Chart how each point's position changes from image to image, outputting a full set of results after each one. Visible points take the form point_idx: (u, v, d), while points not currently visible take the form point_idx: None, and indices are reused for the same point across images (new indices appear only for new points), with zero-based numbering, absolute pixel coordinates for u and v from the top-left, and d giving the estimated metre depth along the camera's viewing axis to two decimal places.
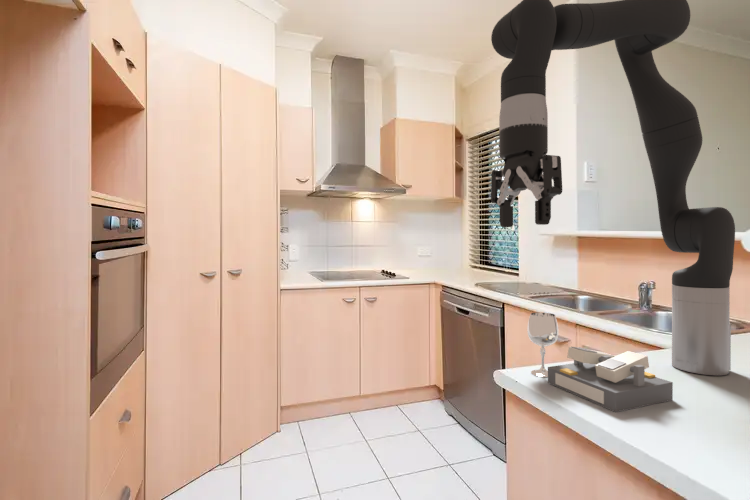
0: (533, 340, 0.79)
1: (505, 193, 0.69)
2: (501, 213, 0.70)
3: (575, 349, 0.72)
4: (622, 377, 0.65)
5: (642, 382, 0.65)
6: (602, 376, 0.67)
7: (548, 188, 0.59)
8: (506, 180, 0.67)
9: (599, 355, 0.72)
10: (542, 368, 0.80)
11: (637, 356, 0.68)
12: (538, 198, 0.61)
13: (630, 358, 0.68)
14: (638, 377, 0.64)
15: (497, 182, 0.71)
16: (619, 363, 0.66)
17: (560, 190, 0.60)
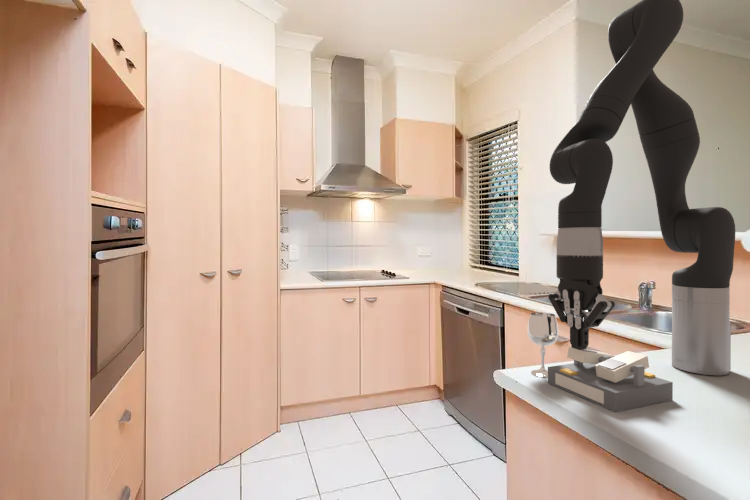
0: (533, 340, 0.79)
1: (572, 313, 0.72)
2: (572, 335, 0.72)
3: (575, 349, 0.72)
4: (622, 377, 0.65)
5: (642, 382, 0.65)
6: (602, 376, 0.67)
7: (587, 323, 0.69)
8: (566, 300, 0.73)
9: (599, 355, 0.72)
10: (542, 368, 0.80)
11: (637, 356, 0.68)
12: (576, 327, 0.71)
13: (630, 358, 0.68)
14: (638, 377, 0.64)
15: (558, 302, 0.76)
16: (619, 363, 0.66)
17: None
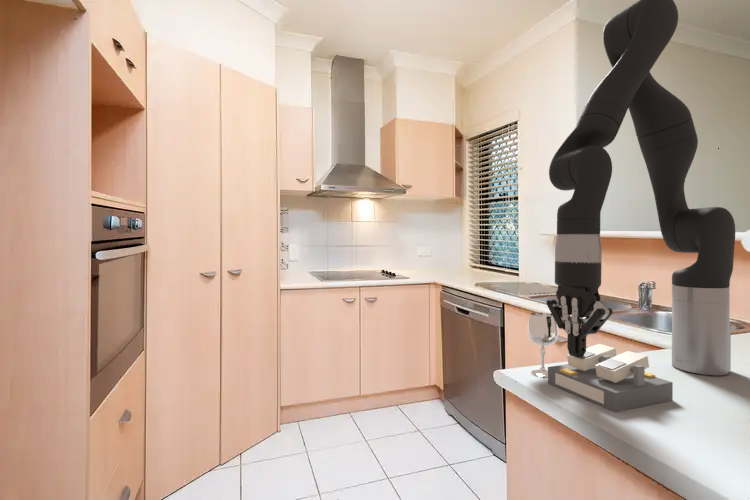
0: (533, 340, 0.79)
1: (570, 319, 0.72)
2: (570, 342, 0.72)
3: (574, 357, 0.72)
4: (622, 377, 0.65)
5: (642, 382, 0.65)
6: (602, 376, 0.67)
7: (585, 330, 0.69)
8: (564, 307, 0.72)
9: (598, 356, 0.71)
10: (542, 368, 0.80)
11: (637, 356, 0.68)
12: (574, 334, 0.71)
13: (630, 358, 0.68)
14: (638, 377, 0.64)
15: (556, 309, 0.75)
16: (619, 363, 0.66)
17: (594, 333, 0.69)
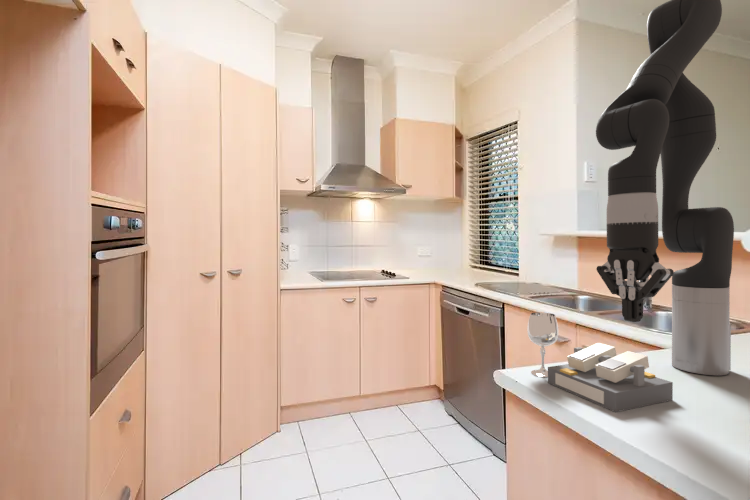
0: (533, 340, 0.79)
1: (625, 284, 0.69)
2: (625, 307, 0.69)
3: (574, 359, 0.72)
4: (622, 377, 0.65)
5: (642, 382, 0.65)
6: (602, 376, 0.67)
7: (643, 293, 0.66)
8: (618, 271, 0.69)
9: (598, 356, 0.71)
10: (542, 368, 0.80)
11: (637, 356, 0.68)
12: (630, 298, 0.68)
13: (630, 358, 0.68)
14: (638, 377, 0.64)
15: (608, 274, 0.72)
16: (619, 363, 0.66)
17: (652, 296, 0.66)
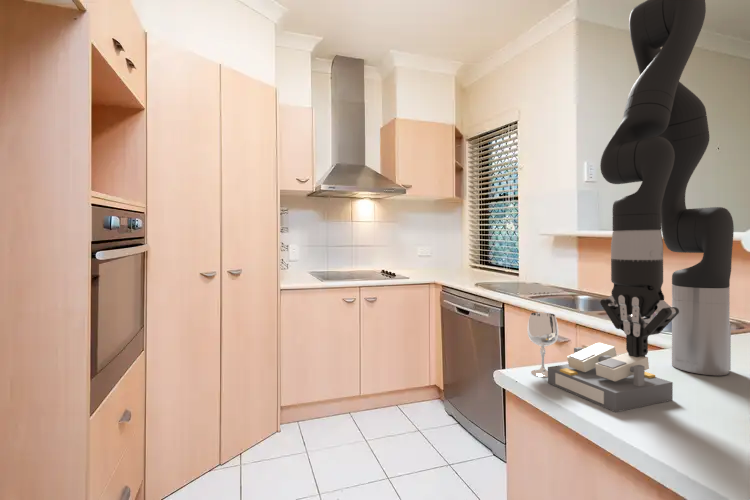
0: (533, 340, 0.79)
1: (629, 319, 0.69)
2: (630, 343, 0.69)
3: (574, 359, 0.72)
4: (622, 376, 0.65)
5: (642, 382, 0.65)
6: (602, 375, 0.67)
7: (648, 330, 0.66)
8: (623, 306, 0.69)
9: (598, 356, 0.71)
10: (542, 368, 0.80)
11: (638, 357, 0.68)
12: (635, 335, 0.68)
13: (631, 358, 0.68)
14: (638, 377, 0.64)
15: (612, 308, 0.72)
16: (619, 362, 0.66)
17: (657, 333, 0.66)
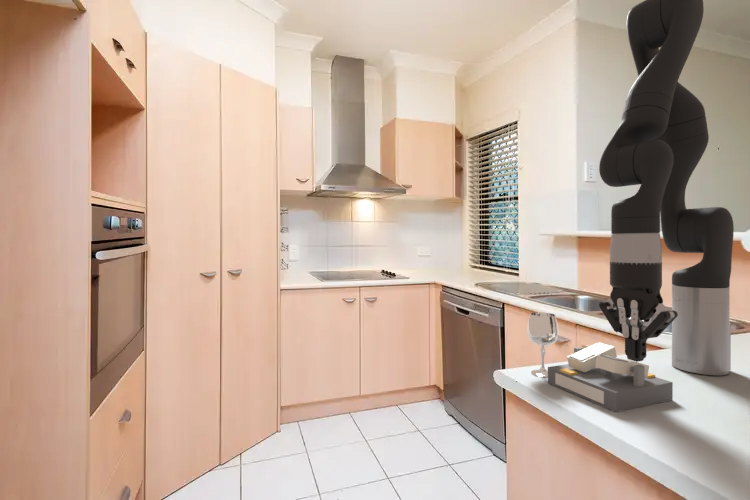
0: (533, 340, 0.79)
1: (628, 322, 0.69)
2: (628, 346, 0.69)
3: (574, 359, 0.72)
4: (621, 371, 0.65)
5: (642, 382, 0.65)
6: (601, 366, 0.67)
7: (647, 334, 0.65)
8: (622, 309, 0.69)
9: None
10: (542, 368, 0.80)
11: (639, 363, 0.68)
12: (633, 338, 0.68)
13: (632, 362, 0.68)
14: (638, 377, 0.64)
15: (610, 311, 0.72)
16: (621, 359, 0.66)
17: (656, 336, 0.66)
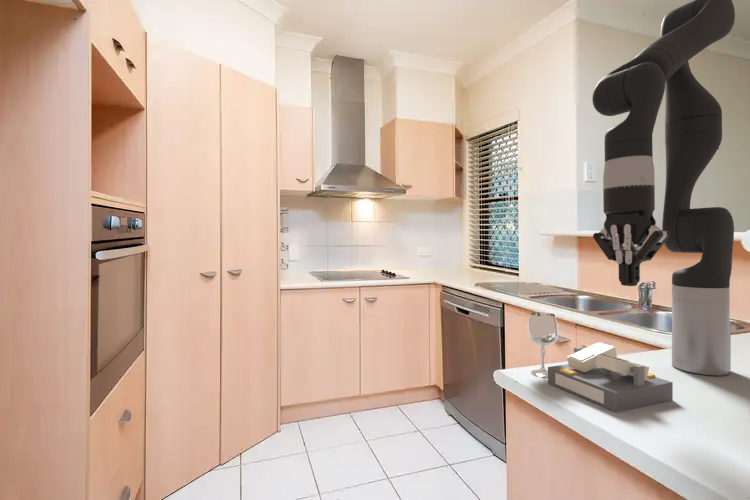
0: (533, 340, 0.79)
1: (621, 248, 0.69)
2: (622, 272, 0.69)
3: (574, 359, 0.72)
4: (621, 370, 0.65)
5: (642, 382, 0.65)
6: (601, 365, 0.67)
7: (640, 256, 0.66)
8: (615, 236, 0.70)
9: None
10: (542, 368, 0.80)
11: (639, 364, 0.68)
12: (627, 262, 0.68)
13: (632, 362, 0.68)
14: (638, 377, 0.64)
15: (604, 241, 0.73)
16: (622, 359, 0.66)
17: (649, 259, 0.67)
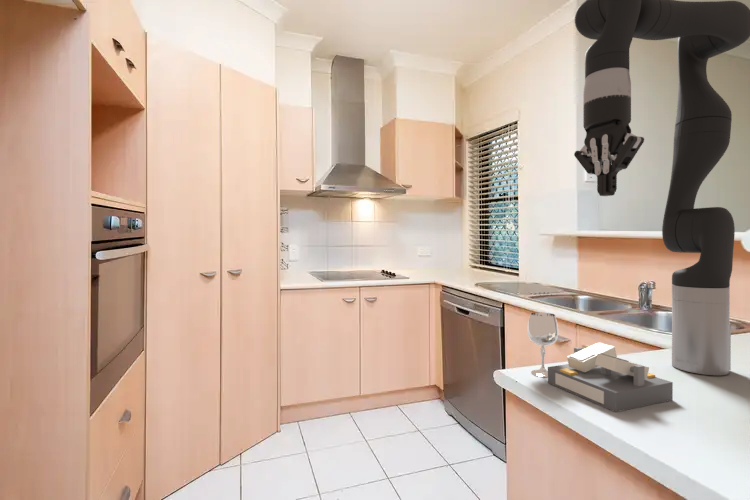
0: (533, 340, 0.79)
1: (600, 160, 0.73)
2: (600, 182, 0.73)
3: (574, 359, 0.72)
4: (621, 370, 0.65)
5: (642, 382, 0.65)
6: (601, 364, 0.67)
7: (616, 163, 0.69)
8: (594, 148, 0.73)
9: None
10: (542, 368, 0.80)
11: None
12: (604, 172, 0.72)
13: None
14: (638, 377, 0.64)
15: (584, 157, 0.76)
16: (622, 359, 0.67)
17: (625, 167, 0.70)
